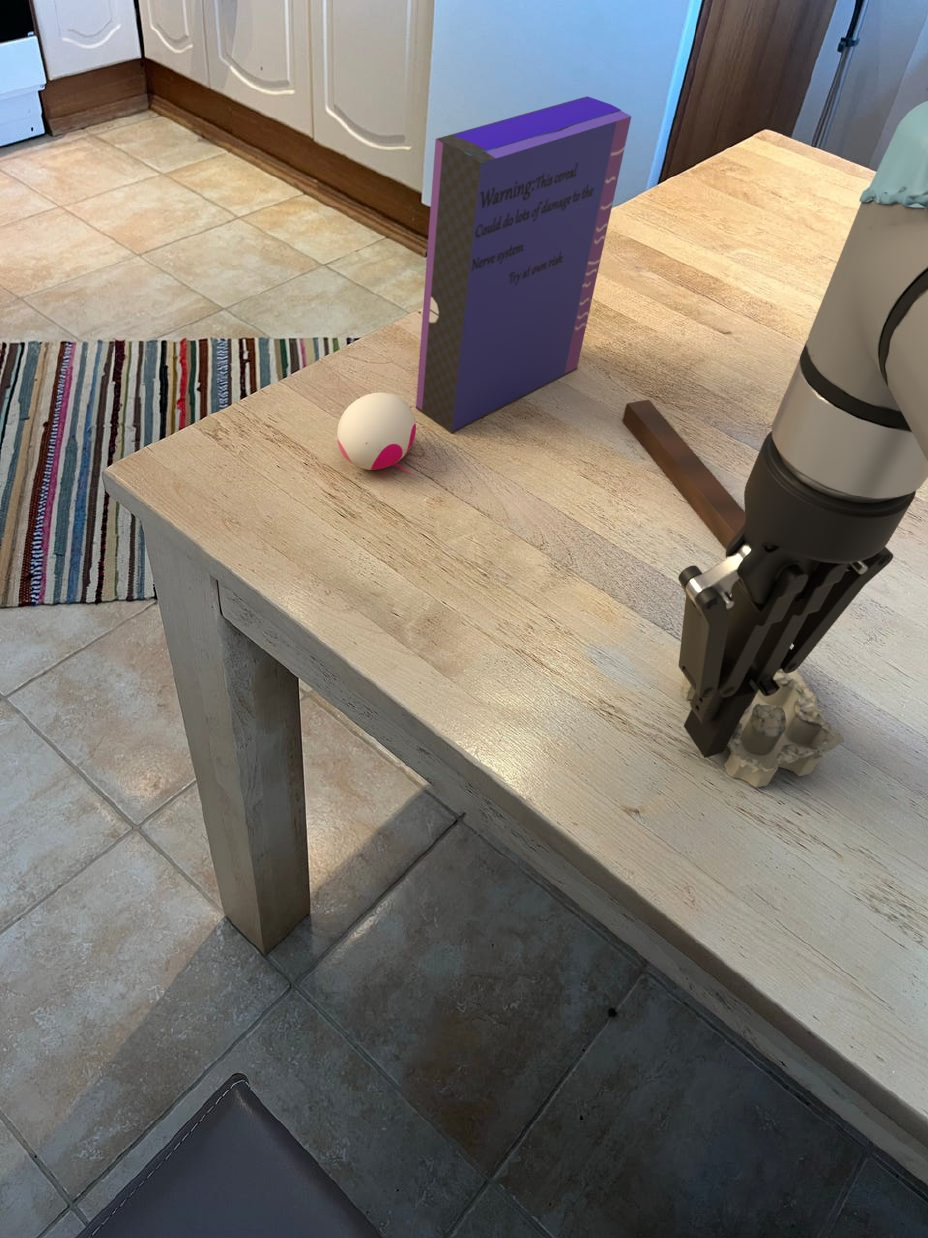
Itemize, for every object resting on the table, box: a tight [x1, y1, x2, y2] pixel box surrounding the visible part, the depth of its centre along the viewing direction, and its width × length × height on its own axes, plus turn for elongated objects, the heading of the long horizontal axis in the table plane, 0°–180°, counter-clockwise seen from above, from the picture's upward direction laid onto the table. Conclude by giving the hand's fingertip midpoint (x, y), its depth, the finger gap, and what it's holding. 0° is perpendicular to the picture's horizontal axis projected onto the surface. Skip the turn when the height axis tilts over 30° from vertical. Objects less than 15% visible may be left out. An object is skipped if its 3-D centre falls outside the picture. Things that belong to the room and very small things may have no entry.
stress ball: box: [336, 392, 417, 475], centre depth 80 cm, size 8×8×7 cm
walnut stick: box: [622, 399, 745, 550], centre depth 83 cm, size 20×2×2 cm, turn 22°
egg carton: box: [680, 669, 845, 788], centre depth 65 cm, size 11×8×4 cm
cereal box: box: [415, 95, 632, 434], centre depth 82 cm, size 17×5×24 cm, turn 134°
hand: (703, 738), depth 63 cm, fingers closed
